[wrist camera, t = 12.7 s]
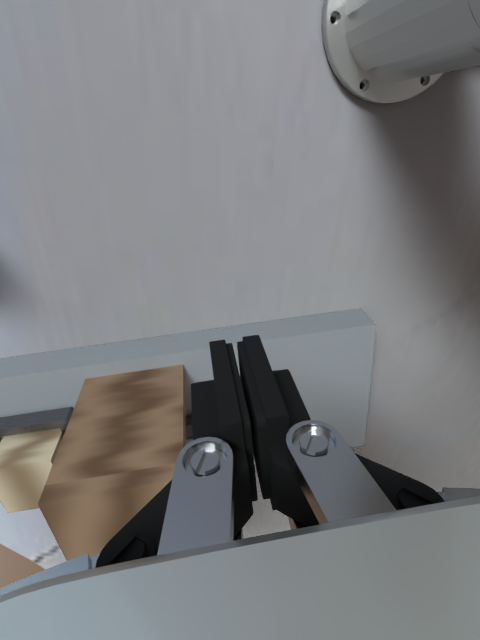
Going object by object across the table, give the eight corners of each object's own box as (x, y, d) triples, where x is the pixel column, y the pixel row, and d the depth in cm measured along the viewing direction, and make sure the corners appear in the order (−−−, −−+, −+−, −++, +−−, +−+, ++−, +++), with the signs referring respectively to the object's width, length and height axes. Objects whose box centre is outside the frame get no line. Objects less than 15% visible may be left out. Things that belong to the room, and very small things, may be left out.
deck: (360, 308, 44) (376, 324, 40) (352, 424, 52) (364, 445, 49) (-44, 364, 40) (-66, 387, 37) (16, 479, 49) (3, 507, 45)
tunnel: (182, 364, 39) (183, 478, 27) (201, 464, 46) (209, 593, 34) (85, 378, 39) (37, 504, 26) (119, 478, 46) (95, 616, 33)
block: (67, 416, 40) (50, 460, 35) (83, 456, 43) (69, 502, 38) (9, 425, 40) (-17, 471, 35) (29, 465, 43) (7, 513, 38)
